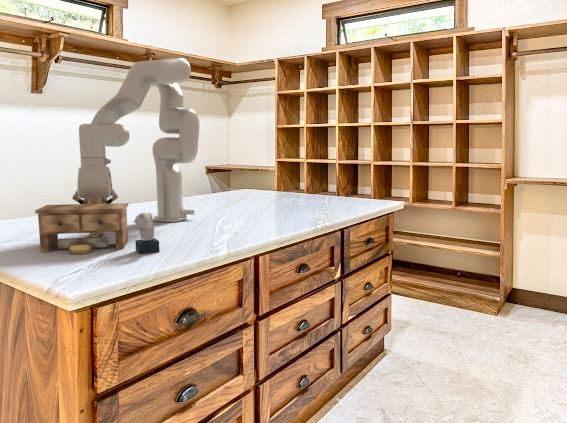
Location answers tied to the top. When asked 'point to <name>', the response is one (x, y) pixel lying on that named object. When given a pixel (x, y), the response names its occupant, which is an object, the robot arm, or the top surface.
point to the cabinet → (82, 222)
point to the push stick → (91, 237)
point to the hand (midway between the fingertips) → (96, 218)
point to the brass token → (80, 248)
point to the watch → (146, 234)
